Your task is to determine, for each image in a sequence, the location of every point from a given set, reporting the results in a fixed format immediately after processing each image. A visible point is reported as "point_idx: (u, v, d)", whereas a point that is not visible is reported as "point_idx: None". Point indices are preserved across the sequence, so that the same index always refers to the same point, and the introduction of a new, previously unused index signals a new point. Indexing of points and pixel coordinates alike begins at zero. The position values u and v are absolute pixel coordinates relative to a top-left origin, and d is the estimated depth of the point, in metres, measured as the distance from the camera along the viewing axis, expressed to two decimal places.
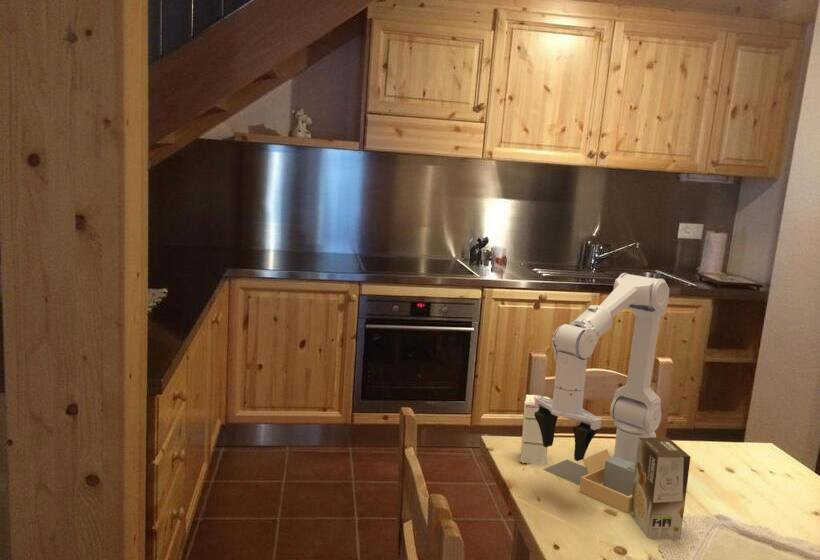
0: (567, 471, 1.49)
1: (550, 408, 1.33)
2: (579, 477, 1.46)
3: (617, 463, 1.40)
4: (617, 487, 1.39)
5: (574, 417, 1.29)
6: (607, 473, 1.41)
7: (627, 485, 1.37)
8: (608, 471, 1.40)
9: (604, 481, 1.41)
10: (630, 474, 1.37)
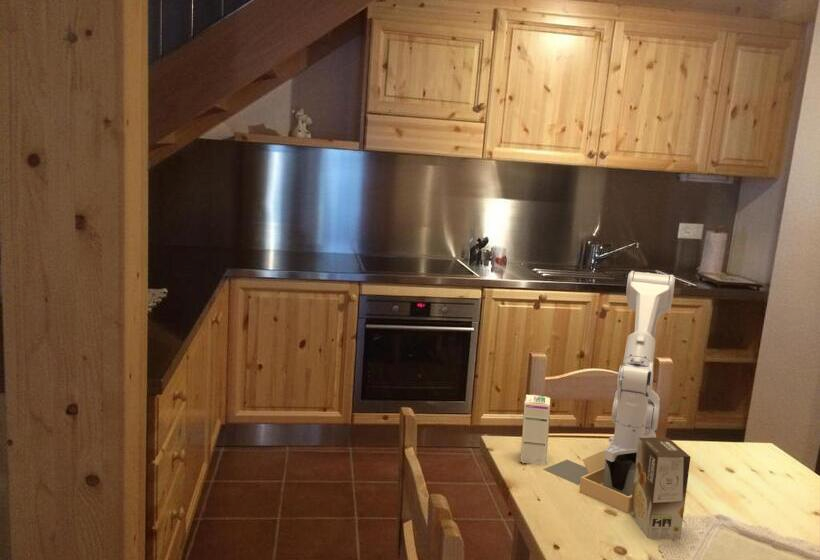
0: (567, 471, 1.49)
1: None
2: (579, 477, 1.46)
3: None
4: None
5: (610, 445, 1.38)
6: (607, 473, 1.41)
7: (627, 485, 1.37)
8: (608, 471, 1.40)
9: (604, 481, 1.41)
10: (630, 474, 1.37)
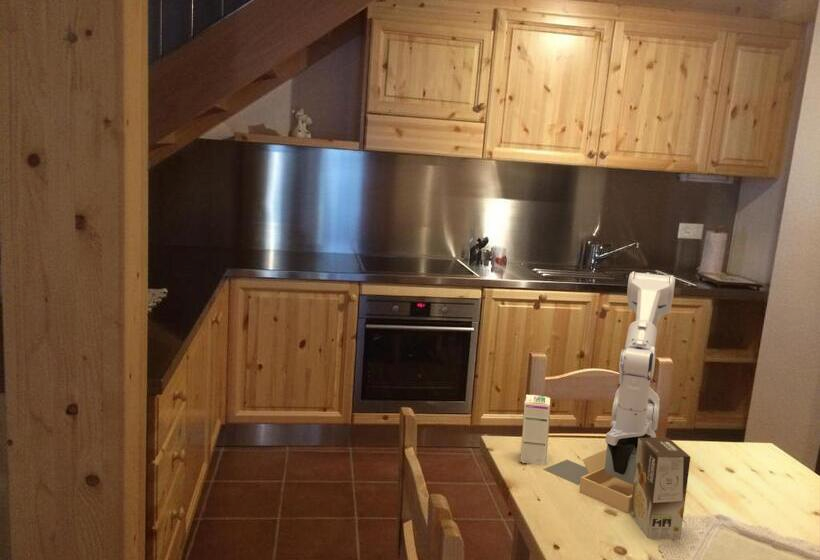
0: (567, 471, 1.49)
1: None
2: (579, 477, 1.46)
3: None
4: None
5: None
6: (609, 458, 1.40)
7: (629, 470, 1.37)
8: (609, 456, 1.40)
9: (606, 466, 1.41)
10: (632, 458, 1.36)
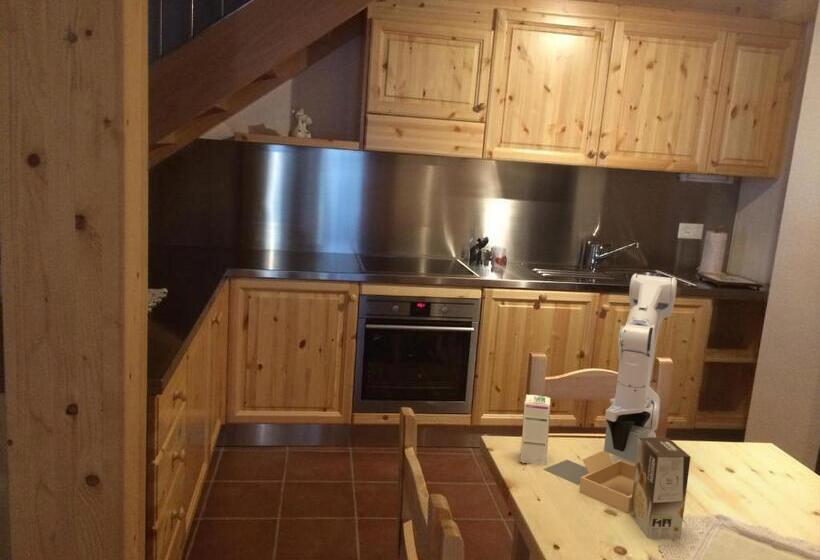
0: (567, 471, 1.49)
1: None
2: (579, 477, 1.46)
3: None
4: None
5: (611, 406, 1.37)
6: (608, 436, 1.40)
7: (629, 447, 1.36)
8: (609, 434, 1.40)
9: (605, 444, 1.40)
10: (632, 435, 1.36)
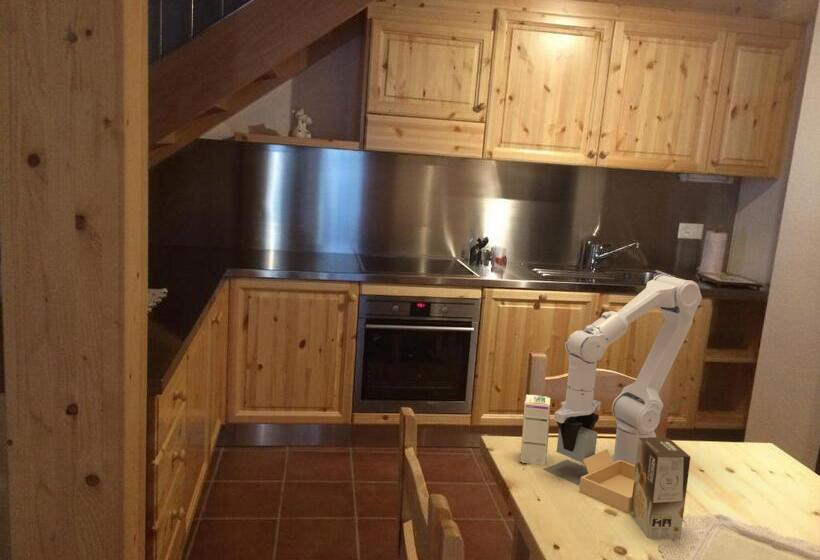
0: (567, 471, 1.49)
1: None
2: (579, 477, 1.46)
3: None
4: None
5: None
6: (561, 438, 1.48)
7: (579, 449, 1.45)
8: (561, 436, 1.48)
9: (558, 445, 1.49)
10: (581, 438, 1.44)
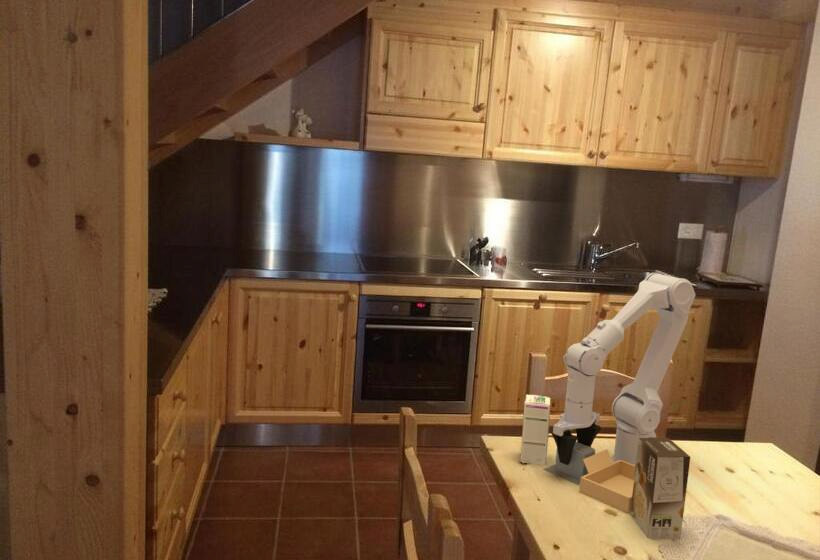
0: None
1: None
2: None
3: None
4: (567, 467, 1.47)
5: None
6: None
7: (577, 466, 1.45)
8: None
9: (556, 462, 1.49)
10: (579, 455, 1.45)
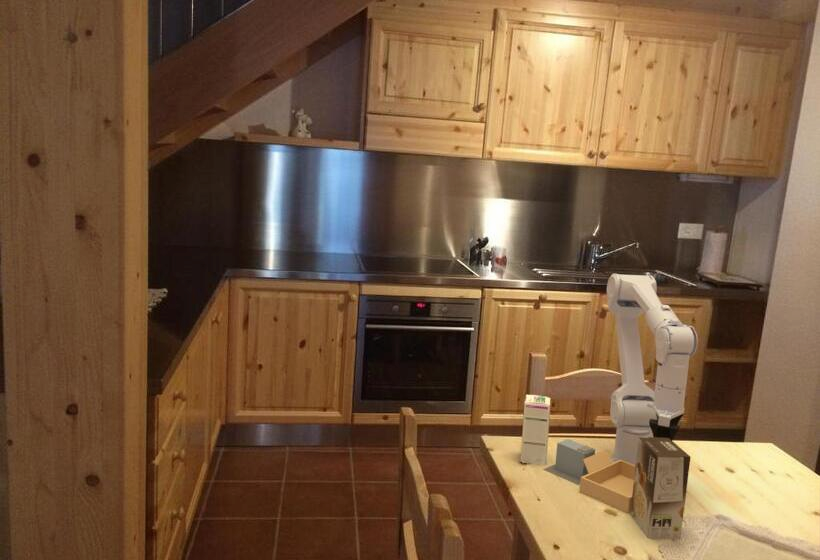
0: None
1: None
2: None
3: (568, 445, 1.48)
4: (567, 467, 1.47)
5: (655, 410, 1.35)
6: (559, 454, 1.49)
7: (577, 466, 1.45)
8: (559, 453, 1.49)
9: (556, 462, 1.49)
10: (579, 455, 1.45)
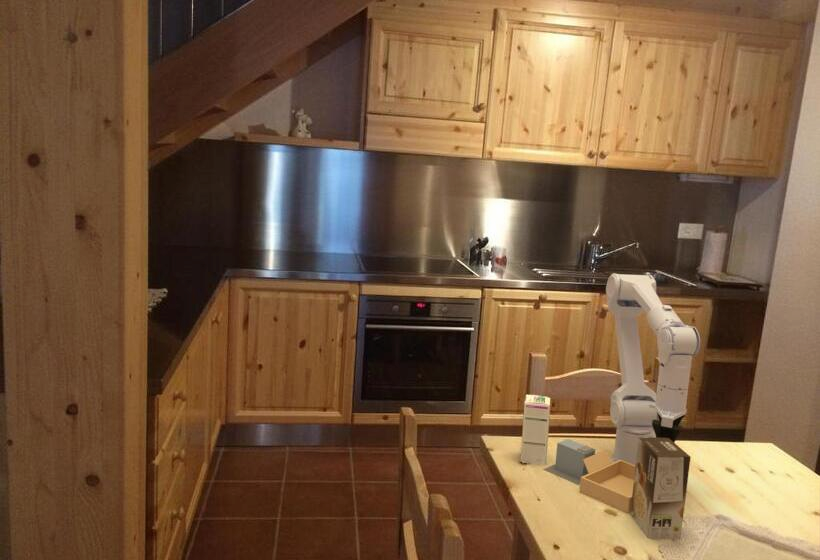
0: None
1: None
2: None
3: (568, 445, 1.48)
4: (567, 467, 1.47)
5: (657, 411, 1.35)
6: (559, 454, 1.49)
7: (577, 466, 1.45)
8: (559, 453, 1.49)
9: (556, 462, 1.49)
10: (579, 455, 1.45)
